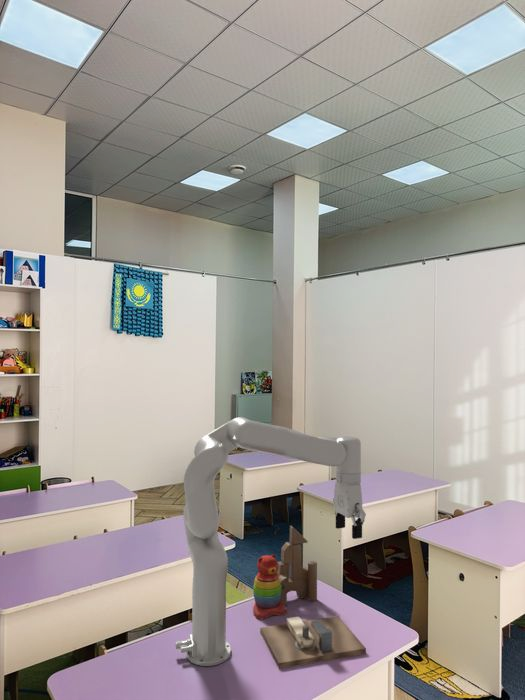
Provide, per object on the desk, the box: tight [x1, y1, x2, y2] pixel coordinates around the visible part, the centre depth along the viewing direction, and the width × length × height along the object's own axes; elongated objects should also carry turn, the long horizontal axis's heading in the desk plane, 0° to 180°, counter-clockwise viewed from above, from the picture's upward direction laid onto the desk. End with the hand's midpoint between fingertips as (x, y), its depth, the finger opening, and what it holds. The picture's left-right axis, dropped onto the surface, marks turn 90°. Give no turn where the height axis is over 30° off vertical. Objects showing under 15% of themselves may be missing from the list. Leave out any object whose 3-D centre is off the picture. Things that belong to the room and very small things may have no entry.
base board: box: [259, 615, 367, 670], centre depth 146 cm, size 26×18×2 cm
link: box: [286, 616, 315, 649], centre depth 146 cm, size 14×5×4 cm, turn 16°
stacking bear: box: [252, 554, 288, 620], centre depth 165 cm, size 11×10×18 cm
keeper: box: [311, 619, 332, 653], centre depth 143 cm, size 3×8×6 cm, turn 16°
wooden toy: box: [276, 525, 318, 607], centre depth 172 cm, size 16×7×25 cm, turn 111°
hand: (348, 532), depth 153 cm, fingers open, 9 cm apart
